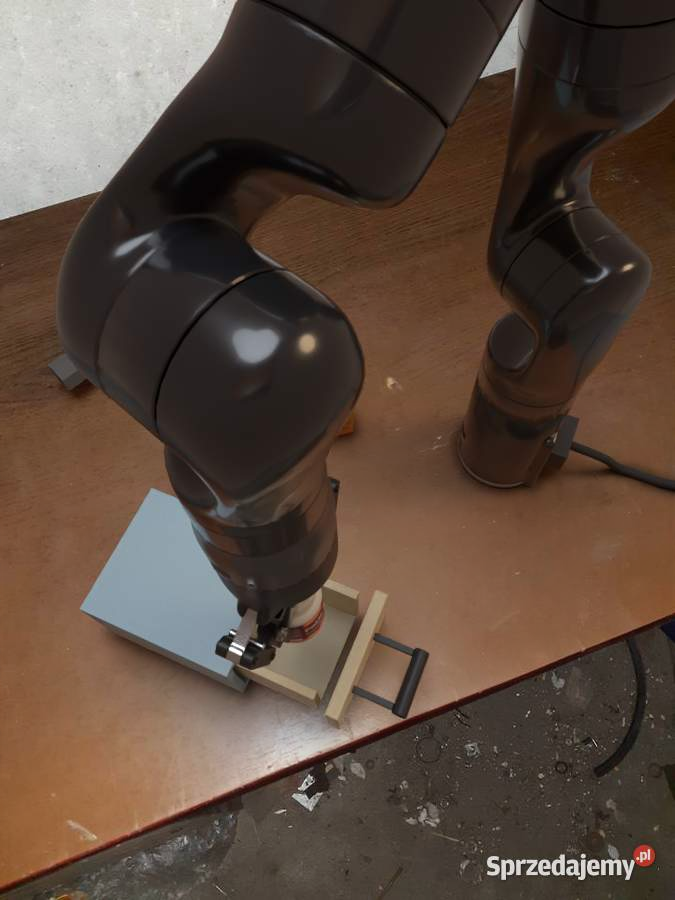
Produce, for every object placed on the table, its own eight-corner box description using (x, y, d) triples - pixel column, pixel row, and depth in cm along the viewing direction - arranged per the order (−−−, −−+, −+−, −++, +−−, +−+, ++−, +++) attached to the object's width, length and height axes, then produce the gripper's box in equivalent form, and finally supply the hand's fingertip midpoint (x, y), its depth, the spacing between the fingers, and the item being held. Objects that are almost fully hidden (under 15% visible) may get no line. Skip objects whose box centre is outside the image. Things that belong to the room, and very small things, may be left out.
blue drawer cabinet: (298, 574, 71) (290, 544, 63) (243, 693, 66) (226, 677, 58) (175, 523, 74) (151, 487, 66) (113, 632, 69) (78, 609, 61)
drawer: (435, 636, 67) (443, 617, 60) (392, 753, 63) (396, 747, 56) (262, 564, 71) (252, 538, 64) (210, 669, 66) (193, 654, 59)
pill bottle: (318, 649, 55) (312, 626, 48) (261, 637, 56) (246, 612, 48) (331, 592, 57) (327, 561, 50) (275, 581, 58) (263, 549, 51)
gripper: (272, 674, 34) (298, 713, 49) (380, 438, 40) (374, 537, 55) (141, 615, 36) (206, 670, 51) (264, 395, 41) (289, 503, 57)
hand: (293, 601), depth 53 cm, fingers closed on pill bottle, 4 cm apart
